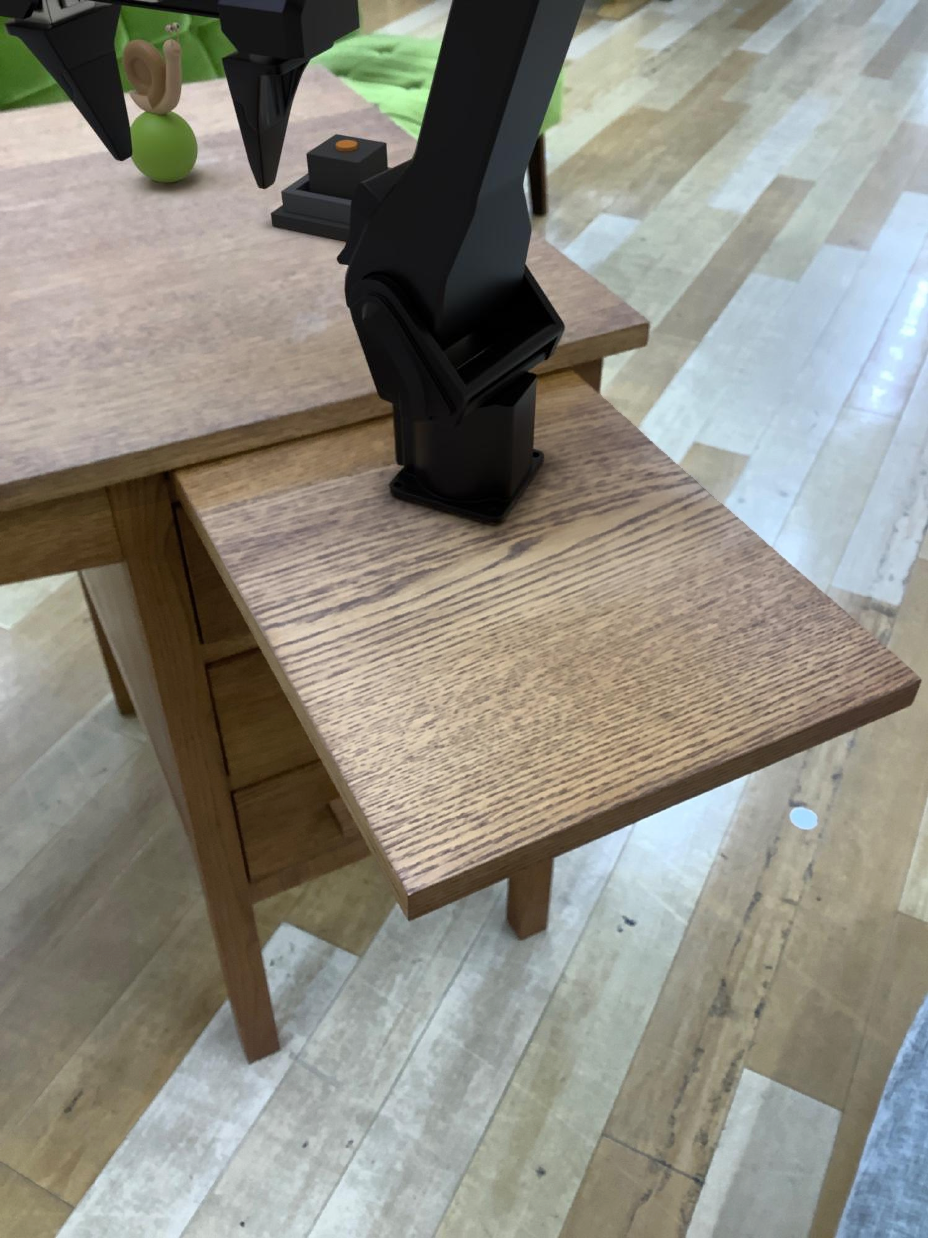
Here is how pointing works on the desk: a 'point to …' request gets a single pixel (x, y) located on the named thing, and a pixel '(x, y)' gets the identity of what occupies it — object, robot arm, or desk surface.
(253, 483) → the desk surface
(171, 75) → the snail figurine
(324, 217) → the base pad
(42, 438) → the desk surface
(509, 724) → the desk surface
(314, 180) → the pad block
